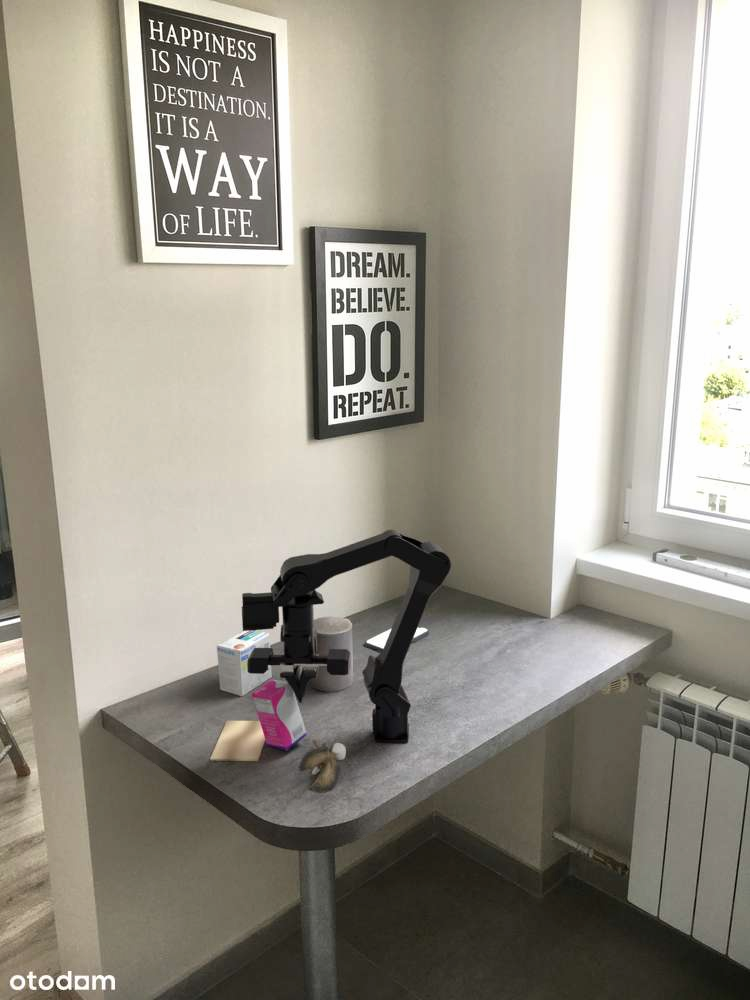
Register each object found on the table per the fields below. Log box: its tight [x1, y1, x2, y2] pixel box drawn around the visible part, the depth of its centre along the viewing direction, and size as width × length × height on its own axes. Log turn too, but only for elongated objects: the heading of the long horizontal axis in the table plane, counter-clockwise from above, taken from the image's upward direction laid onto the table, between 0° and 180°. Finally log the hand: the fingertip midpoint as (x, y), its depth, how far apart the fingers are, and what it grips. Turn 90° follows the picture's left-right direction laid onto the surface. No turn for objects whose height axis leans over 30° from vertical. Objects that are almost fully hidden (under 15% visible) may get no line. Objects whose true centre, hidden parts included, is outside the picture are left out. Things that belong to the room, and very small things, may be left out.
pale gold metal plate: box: [209, 720, 266, 762], centre depth 162 cm, size 9×14×1 cm, turn 177°
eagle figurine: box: [297, 739, 347, 794], centre depth 149 cm, size 8×7×9 cm
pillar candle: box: [309, 615, 354, 693], centre depth 184 cm, size 10×10×15 cm
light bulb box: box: [216, 630, 273, 697], centre depth 184 cm, size 11×7×11 cm, turn 149°
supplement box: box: [251, 679, 308, 751], centre depth 159 cm, size 6×6×12 cm
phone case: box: [364, 625, 430, 653], centre depth 207 cm, size 9×2×16 cm
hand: (300, 702), depth 158 cm, fingers closed
